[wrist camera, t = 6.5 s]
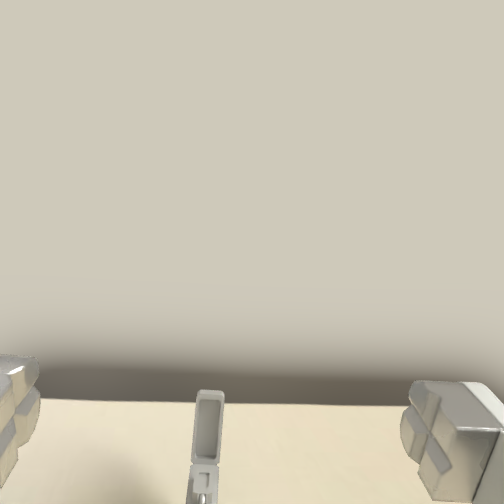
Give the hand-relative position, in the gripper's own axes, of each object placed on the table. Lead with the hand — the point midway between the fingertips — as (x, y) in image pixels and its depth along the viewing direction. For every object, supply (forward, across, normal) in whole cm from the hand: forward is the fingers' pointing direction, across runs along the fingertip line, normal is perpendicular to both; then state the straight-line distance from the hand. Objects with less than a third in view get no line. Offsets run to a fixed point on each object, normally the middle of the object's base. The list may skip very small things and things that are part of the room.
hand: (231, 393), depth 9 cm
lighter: (+12, 0, +19) cm, 23 cm away
